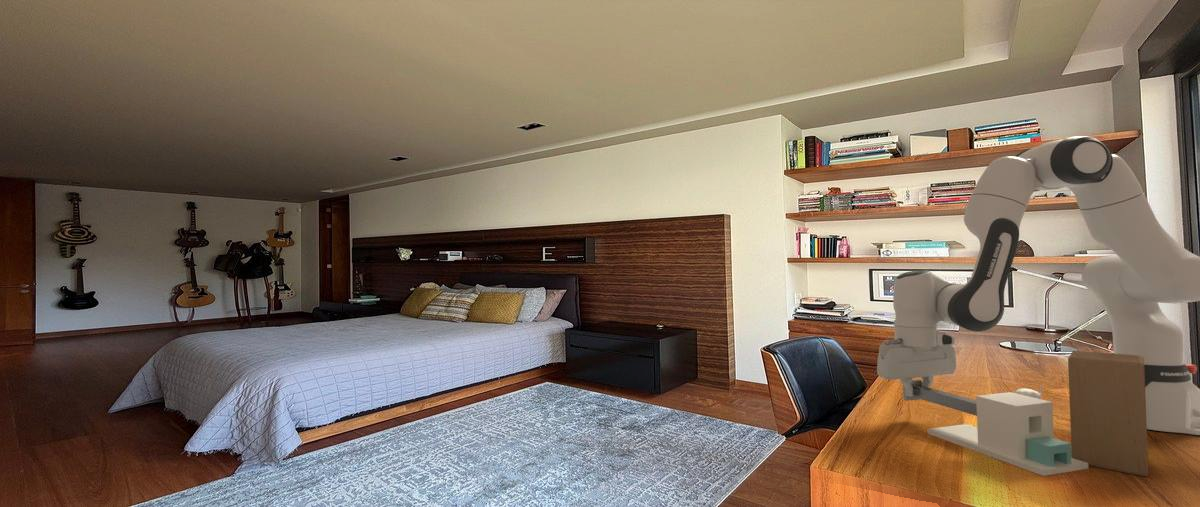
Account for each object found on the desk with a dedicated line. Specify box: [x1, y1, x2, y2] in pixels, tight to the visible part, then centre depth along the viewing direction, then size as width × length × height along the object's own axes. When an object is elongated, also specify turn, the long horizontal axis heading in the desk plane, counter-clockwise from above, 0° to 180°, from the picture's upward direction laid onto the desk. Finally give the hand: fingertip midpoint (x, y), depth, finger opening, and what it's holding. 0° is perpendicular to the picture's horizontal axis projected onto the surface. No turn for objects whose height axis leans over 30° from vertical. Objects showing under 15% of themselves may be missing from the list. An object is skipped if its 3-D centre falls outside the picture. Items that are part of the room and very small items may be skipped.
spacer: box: [1027, 436, 1072, 467], centre depth 96 cm, size 5×4×4 cm
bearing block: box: [927, 391, 1089, 477], centre depth 105 cm, size 11×24×11 cm, turn 14°
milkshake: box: [1014, 384, 1045, 399], centre depth 116 cm, size 5×5×10 cm
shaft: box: [902, 379, 977, 417], centre depth 114 cm, size 5×25×5 cm, turn 14°
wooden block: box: [1067, 350, 1150, 477], centre depth 98 cm, size 10×10×20 cm
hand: (917, 395), depth 124 cm, fingers closed on shaft, 2 cm apart
